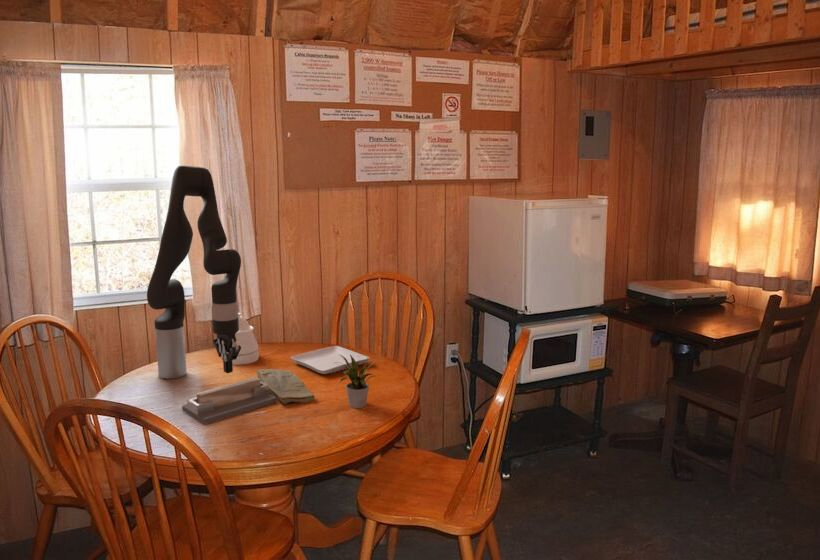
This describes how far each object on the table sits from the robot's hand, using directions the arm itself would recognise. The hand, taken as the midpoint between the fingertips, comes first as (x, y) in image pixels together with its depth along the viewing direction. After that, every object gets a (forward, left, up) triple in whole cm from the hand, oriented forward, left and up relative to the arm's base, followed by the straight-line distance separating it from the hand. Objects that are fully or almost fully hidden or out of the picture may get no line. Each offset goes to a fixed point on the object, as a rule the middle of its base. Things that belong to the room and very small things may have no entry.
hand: (228, 372), depth 200 cm
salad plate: (-10, +46, -12) cm, 48 cm away
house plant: (+25, +28, -11) cm, 39 cm away
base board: (0, 0, -11) cm, 11 cm away
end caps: (0, 0, -10) cm, 10 cm away
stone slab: (-2, +20, -12) cm, 23 cm away
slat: (0, 0, -10) cm, 10 cm away
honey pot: (-38, +26, -11) cm, 47 cm away
